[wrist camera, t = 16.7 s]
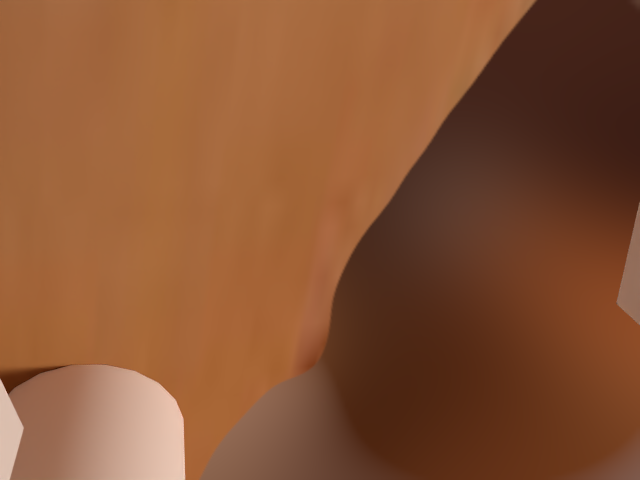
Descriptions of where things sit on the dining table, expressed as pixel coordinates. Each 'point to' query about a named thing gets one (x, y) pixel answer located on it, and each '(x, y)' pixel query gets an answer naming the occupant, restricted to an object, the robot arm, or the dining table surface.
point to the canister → (97, 426)
